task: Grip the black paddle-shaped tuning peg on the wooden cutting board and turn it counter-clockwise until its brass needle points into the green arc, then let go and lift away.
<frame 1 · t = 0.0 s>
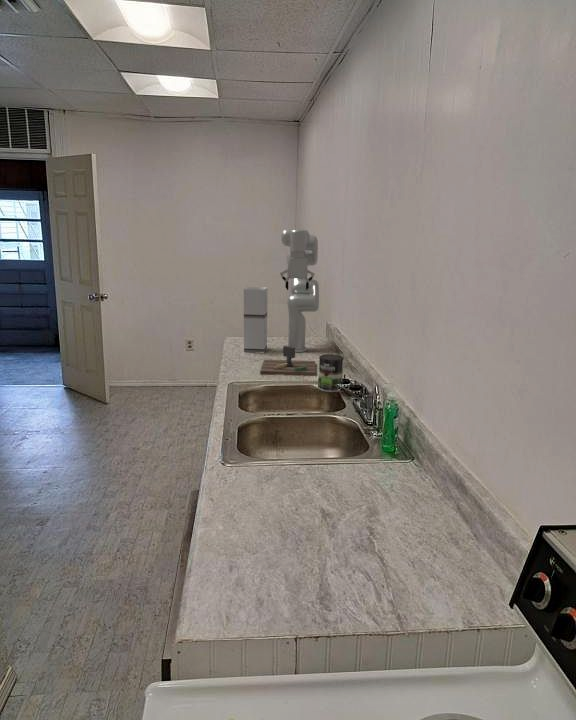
hand: (297, 289, 259), 37 cm above the counter, tool pointing down, fingers open, 9 cm apart
tall grey two-section tower: (255, 350, 289), on the counter
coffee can: (330, 389, 221), on the counter
wooden cutting board: (288, 368, 252), on the counter
tuning peg: (284, 357, 247), point 6 cm above the counter, hinge at 0.0°
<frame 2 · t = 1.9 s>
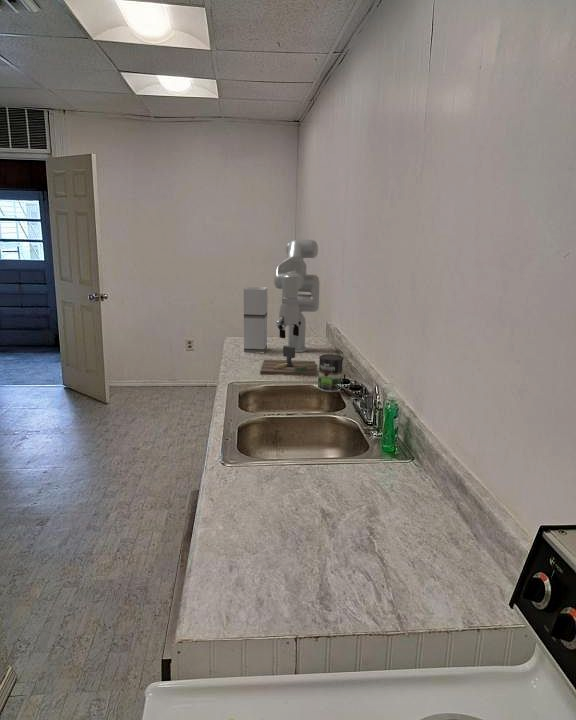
hand: (289, 336, 247), 16 cm above the counter, tool pointing down, fingers open, 9 cm apart
nothing on the counter moved.
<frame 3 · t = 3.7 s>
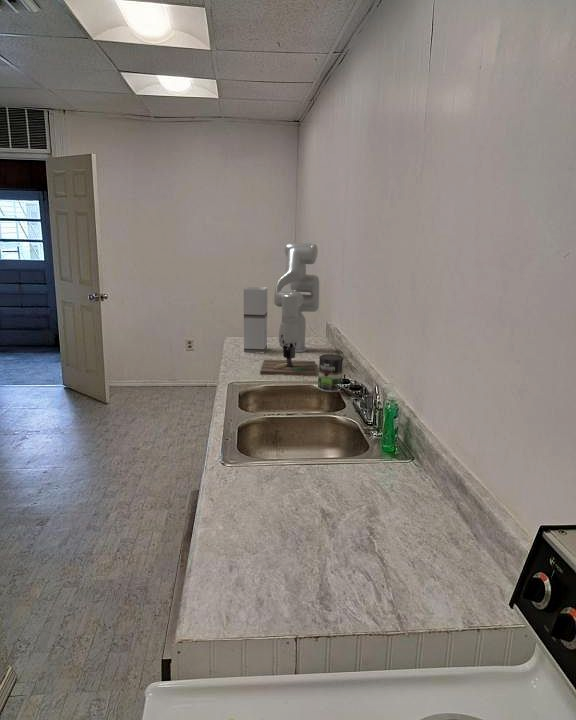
hand: (288, 356, 250), 6 cm above the counter, tool pointing down, fingers closed on tuning peg, 2 cm apart
tuning peg: (284, 357, 247), point 6 cm above the counter, hinge at 0.0°, touching gripper
everything else where it was.
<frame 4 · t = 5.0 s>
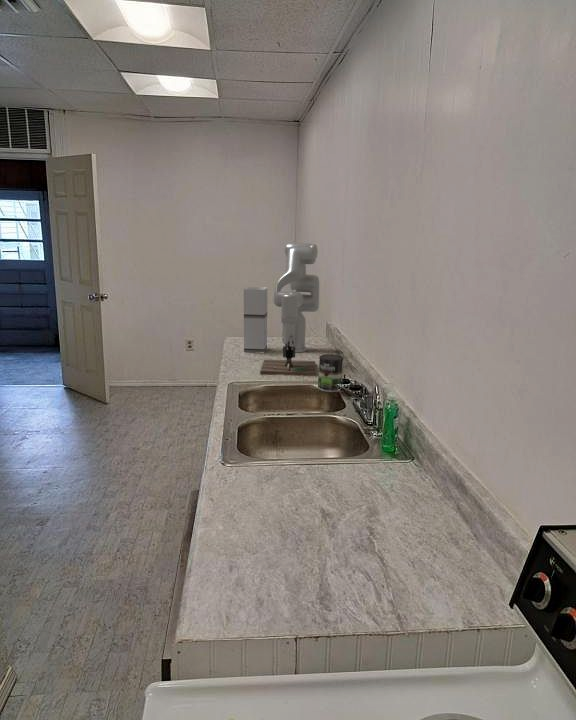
hand: (288, 356, 250), 6 cm above the counter, tool pointing down, fingers closed on tuning peg, 2 cm apart
tuning peg: (288, 357, 247), point 6 cm above the counter, hinge at 38.8°, touching gripper
everything else where it was.
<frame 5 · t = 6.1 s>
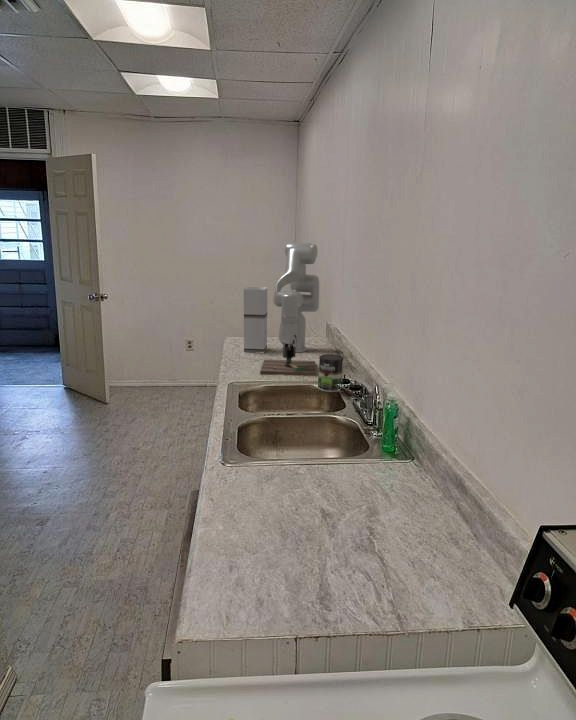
hand: (288, 356, 250), 6 cm above the counter, tool pointing down, fingers closed on tuning peg, 2 cm apart
tuning peg: (292, 357, 247), point 6 cm above the counter, hinge at 68.7°, touching gripper
everything else where it was.
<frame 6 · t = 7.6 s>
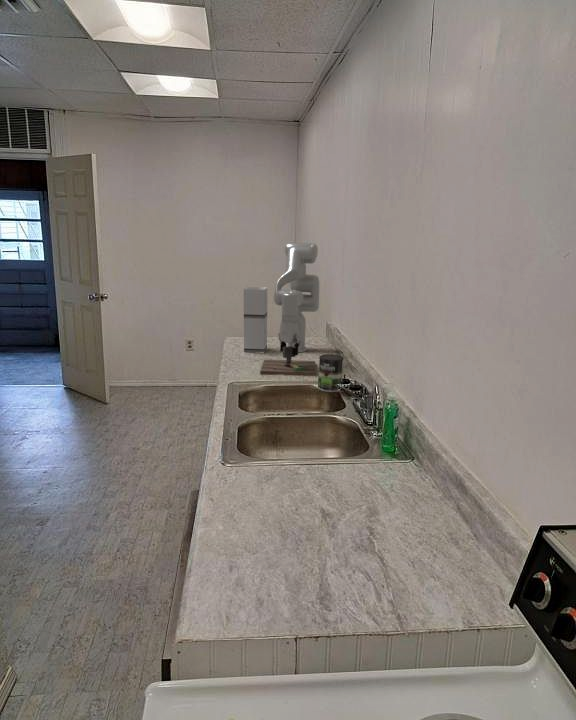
hand: (289, 353, 250), 8 cm above the counter, tool pointing down, fingers open, 9 cm apart
tuning peg: (292, 357, 247), point 6 cm above the counter, hinge at 71.5°
everything else where it was.
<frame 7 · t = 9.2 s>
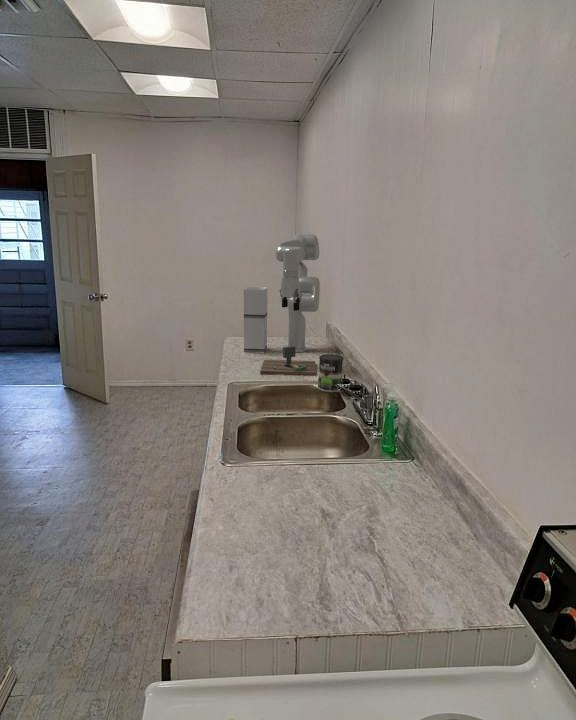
hand: (290, 308, 254), 28 cm above the counter, tool pointing down, fingers open, 9 cm apart
tuning peg: (292, 357, 247), point 6 cm above the counter, hinge at 72.0°
everything else where it was.
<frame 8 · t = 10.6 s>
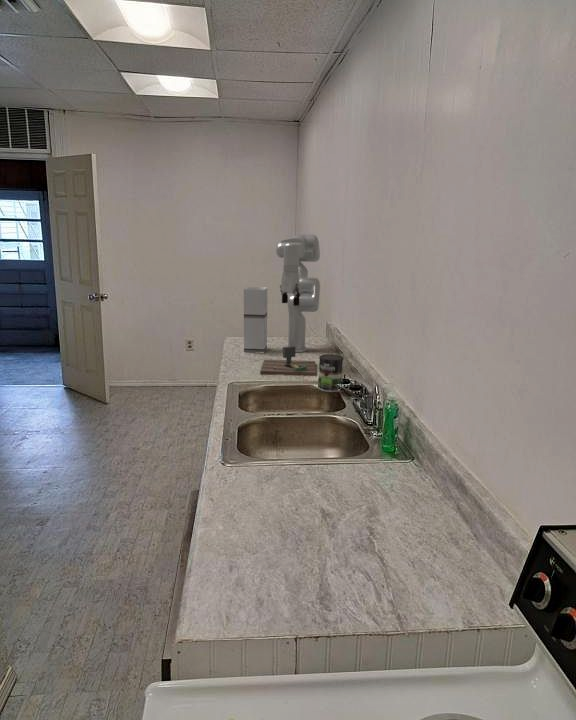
hand: (290, 304, 255), 30 cm above the counter, tool pointing down, fingers open, 9 cm apart
nothing on the counter moved.
at the end: tuning peg at +72° (first picture: +0°); the gripper is holding nothing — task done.
